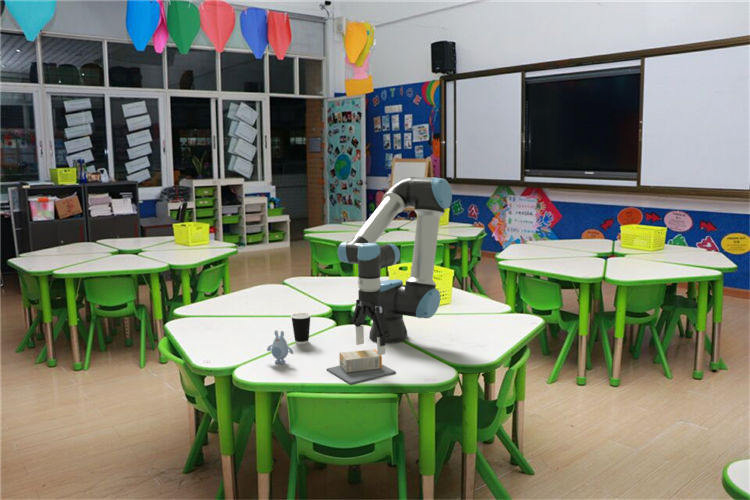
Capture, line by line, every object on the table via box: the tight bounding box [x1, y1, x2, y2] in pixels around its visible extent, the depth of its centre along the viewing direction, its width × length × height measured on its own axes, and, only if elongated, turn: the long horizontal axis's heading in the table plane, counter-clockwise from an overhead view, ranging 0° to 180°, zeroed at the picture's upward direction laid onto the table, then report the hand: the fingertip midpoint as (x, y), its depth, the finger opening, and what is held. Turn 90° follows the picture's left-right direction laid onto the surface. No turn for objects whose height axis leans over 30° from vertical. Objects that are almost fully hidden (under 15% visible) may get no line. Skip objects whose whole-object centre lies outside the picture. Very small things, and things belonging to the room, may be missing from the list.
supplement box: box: [338, 348, 383, 373], centre depth 224 cm, size 8×5×13 cm
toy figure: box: [266, 329, 294, 365], centre depth 231 cm, size 11×6×12 cm, turn 70°
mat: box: [326, 364, 397, 385], centre depth 222 cm, size 18×16×1 cm
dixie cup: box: [290, 312, 312, 345], centre depth 254 cm, size 8×8×11 cm
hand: (370, 349), depth 223 cm, fingers open, 13 cm apart
